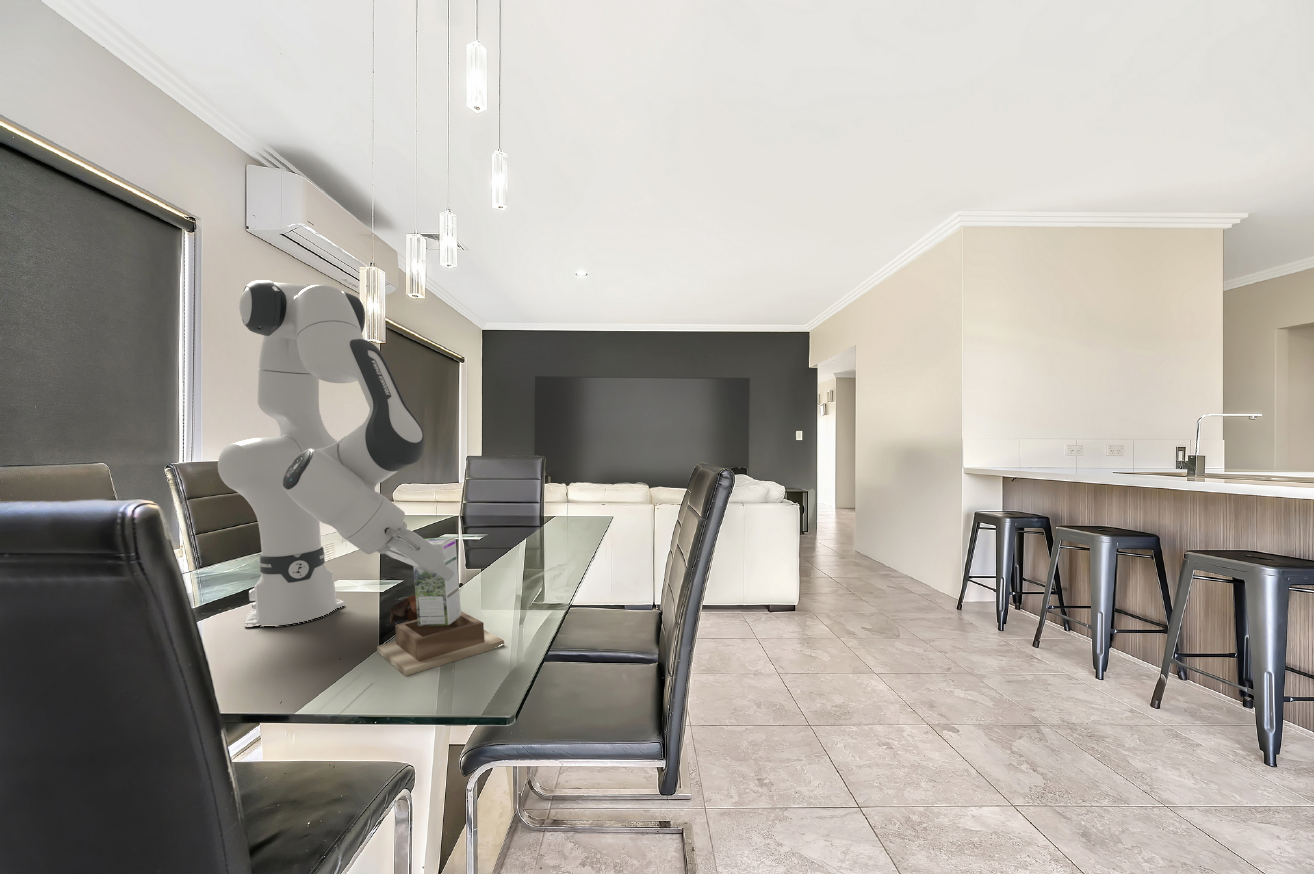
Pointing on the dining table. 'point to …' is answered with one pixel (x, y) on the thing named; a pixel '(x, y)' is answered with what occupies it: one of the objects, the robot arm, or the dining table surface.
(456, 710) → the dining table surface
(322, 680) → the dining table surface
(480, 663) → the dining table surface
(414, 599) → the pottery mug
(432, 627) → the board
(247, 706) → the dining table surface
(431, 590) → the syrup box
